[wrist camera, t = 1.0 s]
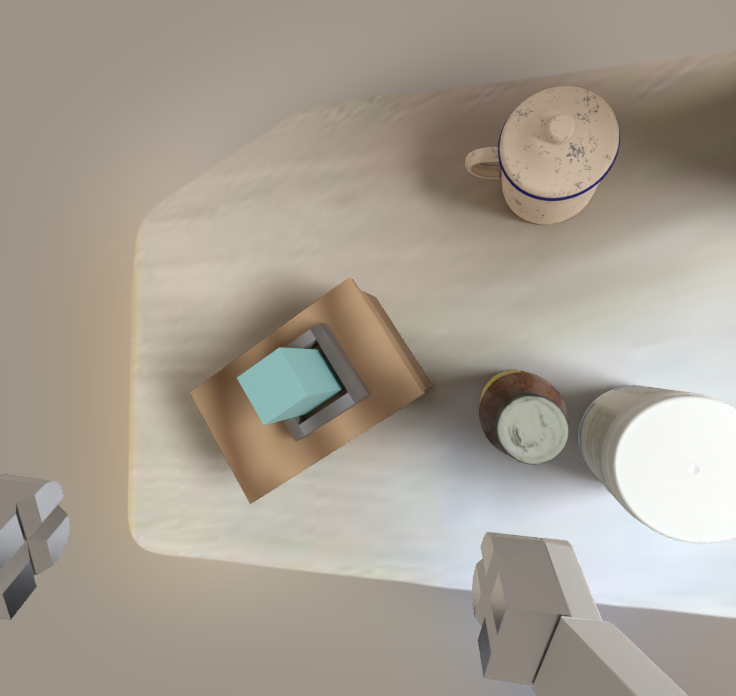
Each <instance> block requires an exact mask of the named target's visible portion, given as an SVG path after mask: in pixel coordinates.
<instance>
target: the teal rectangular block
mask: <svg viewBox="0 0 736 696" xmlns="http://www.w3.org/2000/svg"><path fill="white" fill-rule="evenodd" d="M237 379H238V381H239V383H240V384H241V386H242V388H243V390H244V391H245V393H246V395H247V397H248V399H249V400H250V402H251V404H252V406H253V407H254V409H255V411H256V413H257V414H258V416H259V418H260V420H261V422H262V423H263V425H267V424H271V423H275V422H278V421H282V420H286V419H289V418H293V417H297V416H300V415H304V414H307V413H310V412H312V411H313V410H315V409H316V408H318V407H319V406H321V405H322V404H324V403H325V402H327V401H328V400H330V399H331V398H333V397H334V396H336V395H337V394H339V393H340V392H342V391H343V390H345V389H346V388H345V386H344V385H343V383H342V381H341V380H340V378H339V376H338V375H337V373H336V371H335V370H334V368H333V366H332V365H331V363H330V361H329V360H328V358H327V357H326V355H325V353H324V352H323V350H319V349H300V348H281V347H279V348H278V349H276V350H275V351H274V352H272V353H271V354H269V355H268V356H267V357H265V358H264V359H262V360H261V361H260V362H258V363H257V364H255V365H254V366H253V367H251V368H250V369H248V370H247V371H246V372H244V373H243V374H241V375H240V376H239V377H237Z"/></svg>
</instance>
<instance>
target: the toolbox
mask: <svg viewBox="0 0 736 696" xmlns="http://www.w3.org/2000/svg"><path fill="white" fill-rule="evenodd" d="M279 347H281V348H300V349H319V350H323V352H324V353H325V355H326V357H327V358H328V360H329V361H330V363H331V365H332V366H333V368H334V370H335V371H336V373H337V375H338V376H339V378H340V380H341V381H342V383H343V385H344V386H345V388H346V389H345V390H343V391H342V392H340V393H339V394H337V395H336V396H334V397H333V398H331V399H330V400H328V401H327V402H325V403H324V404H322V405H321V406H319V407H318V408H316V409H315V410H313V411H312V412H310V413H307V414H304V415H300V416H297V417H293V418H289V419H286V420H282V421H278V422H275V423H271V424H267V425H263V423H262V422H261V420H260V418H259V416H258V414H257V413H256V411H255V409H254V407H253V406H252V404H251V402H250V400H249V399H248V397H247V395H246V393H245V391H244V390H243V388H242V386H241V384H240V383H239V381H238V379H237V377H239V376H240V375H241V374H243V373H244V372H246V371H247V370H248V369H250V368H251V367H253V366H254V365H255V364H257V363H258V362H260V361H261V360H262V359H264V358H265V357H267V356H268V355H269V354H271V353H272V352H274V351H275V350H276V349H278V348H279ZM431 387H433V385H432V384H431V382H430V381H429V379H428V378H427V376H426V374H425V373H424V371H423V370H422V368H421V367H420V365H419V364H418V362H417V360H416V359H415V357H414V356H413V354H412V353H411V351H410V350H409V348H408V346H407V345H406V343H405V342H404V340H403V339H402V337H401V336H400V334H399V332H398V331H397V329H396V328H395V326H394V325H393V323H392V321H391V320H390V318H389V317H388V315H387V314H386V312H385V311H384V309H383V307H382V306H381V304H380V303H379V301H378V300H377V298H376V297H374V296H372V295H370V294H368V293H366V292H364V291H361V290H359V288H358V286H357V285H356V283H355V282H354V280H353V279H351V278H348V279H346V280H345V281H344V282H342V283H341V284H339V285H338V286H337V287H335V288H334V289H332V290H331V291H330V292H328V293H327V294H326V295H324V296H323V297H321V298H320V299H319V300H317V301H316V302H315V303H313V304H312V305H310V306H309V307H308V308H306V309H305V310H303V311H302V312H301V313H299V314H298V315H297V316H295V317H294V318H292V319H291V320H290V321H288V322H287V323H286V324H284V325H283V326H281V327H280V328H279V329H277V330H276V331H275V332H273V333H272V334H270V335H269V336H268V337H266V338H265V339H263V340H262V341H261V342H259V343H258V344H257V345H255V346H254V347H252V348H251V349H250V350H248V351H247V352H246V353H244V354H243V355H241V356H240V357H239V358H237V359H236V360H234V361H233V362H232V363H230V364H229V365H228V366H226V367H225V368H223V369H222V370H221V371H219V372H218V373H217V374H215V375H214V376H212V377H211V378H210V379H208V380H207V381H205V382H204V383H203V384H201V385H200V386H199V387H197V388H196V389H194V390H193V391H192V392H190V394H191V396H192V398H193V400H194V401H195V403H196V405H197V407H198V409H199V411H200V413H201V414H202V416H203V418H204V420H205V422H206V424H207V425H208V427H209V429H210V431H211V433H212V435H213V436H214V438H215V440H216V442H217V444H218V446H219V447H220V449H221V451H222V453H223V455H224V457H225V458H226V460H227V462H228V464H229V466H230V468H231V470H232V471H233V473H234V475H235V477H236V479H237V481H238V482H239V484H240V486H241V488H242V490H243V492H244V493H245V495H246V497H247V499H248V501H249V503H250V504H251V503H253V502H254V501H256V500H258V499H259V498H261V497H263V496H264V495H266V494H267V493H269V492H270V491H272V490H274V489H275V488H277V487H278V486H280V485H281V484H283V483H285V482H286V481H288V480H289V479H291V478H293V477H294V476H296V475H297V474H299V473H300V472H302V471H304V470H305V469H307V468H308V467H310V466H311V465H313V464H315V463H316V462H318V461H319V460H321V459H322V458H324V457H326V456H327V455H329V454H330V453H332V452H333V451H335V450H337V449H338V448H340V447H341V446H343V445H345V444H346V443H348V442H349V441H351V440H352V439H354V438H356V437H357V436H359V435H360V434H362V433H363V432H365V431H367V430H368V429H370V428H371V427H373V426H374V425H376V424H378V423H379V422H381V421H382V420H384V419H385V418H387V417H389V416H390V415H392V414H393V413H395V412H397V411H398V410H400V409H401V408H403V407H404V406H406V405H408V404H409V403H411V402H412V401H414V400H415V399H417V398H419V397H420V396H422V395H423V394H425V391H427V390H428V389H430V388H431Z"/></svg>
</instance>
